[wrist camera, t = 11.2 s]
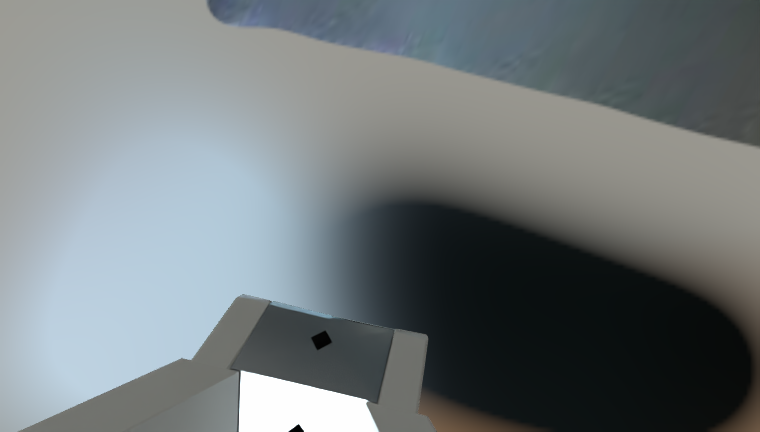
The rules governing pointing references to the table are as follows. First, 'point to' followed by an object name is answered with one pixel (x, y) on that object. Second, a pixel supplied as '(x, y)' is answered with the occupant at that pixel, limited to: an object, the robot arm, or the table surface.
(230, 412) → the robot arm
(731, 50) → the table surface
